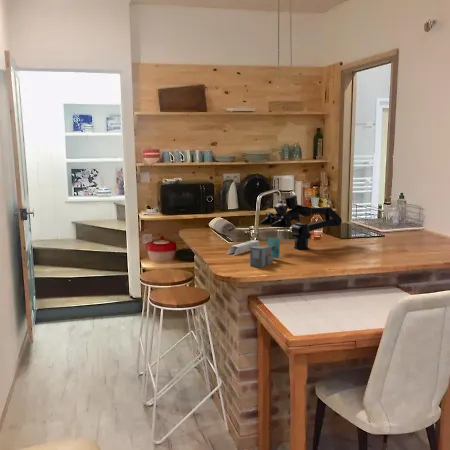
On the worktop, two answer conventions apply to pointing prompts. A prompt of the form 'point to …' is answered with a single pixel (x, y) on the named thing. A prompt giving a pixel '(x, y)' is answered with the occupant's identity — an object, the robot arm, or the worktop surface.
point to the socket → (257, 256)
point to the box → (242, 247)
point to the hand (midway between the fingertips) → (265, 224)
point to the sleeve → (268, 255)
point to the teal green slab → (274, 246)
